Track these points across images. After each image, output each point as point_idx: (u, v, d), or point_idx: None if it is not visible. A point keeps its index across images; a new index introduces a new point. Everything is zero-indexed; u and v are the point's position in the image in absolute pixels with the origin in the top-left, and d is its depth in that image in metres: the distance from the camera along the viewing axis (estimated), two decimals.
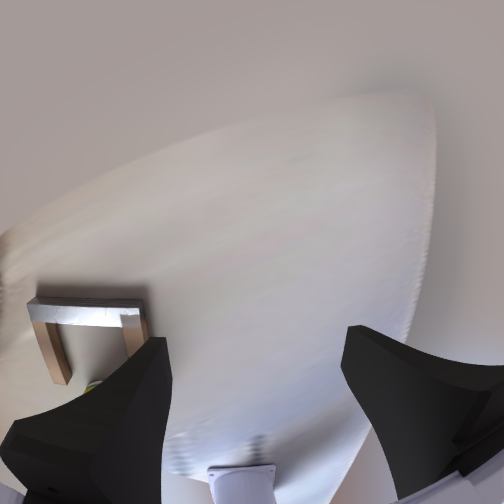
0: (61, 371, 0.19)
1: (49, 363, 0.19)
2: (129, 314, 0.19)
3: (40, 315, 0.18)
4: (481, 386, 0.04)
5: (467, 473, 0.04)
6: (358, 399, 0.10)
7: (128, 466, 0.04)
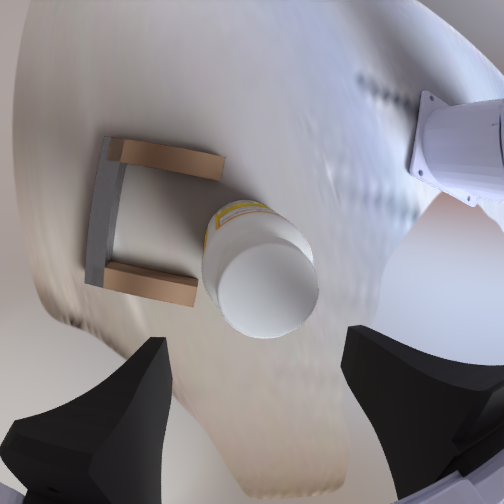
0: (173, 282, 0.19)
1: (160, 294, 0.19)
2: (108, 148, 0.16)
3: (97, 269, 0.18)
4: (481, 386, 0.04)
5: (467, 473, 0.04)
6: (358, 399, 0.10)
7: (128, 466, 0.04)
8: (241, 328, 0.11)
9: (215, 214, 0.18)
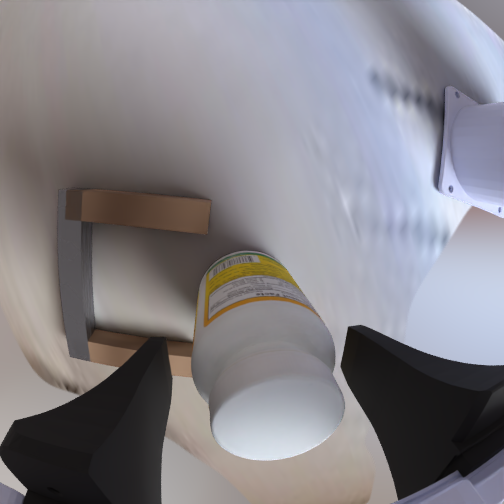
0: None
1: None
2: (65, 204, 0.12)
3: (80, 342, 0.14)
4: (480, 386, 0.04)
5: (467, 473, 0.04)
6: (358, 399, 0.10)
7: (128, 466, 0.04)
8: (247, 456, 0.08)
9: (206, 275, 0.14)
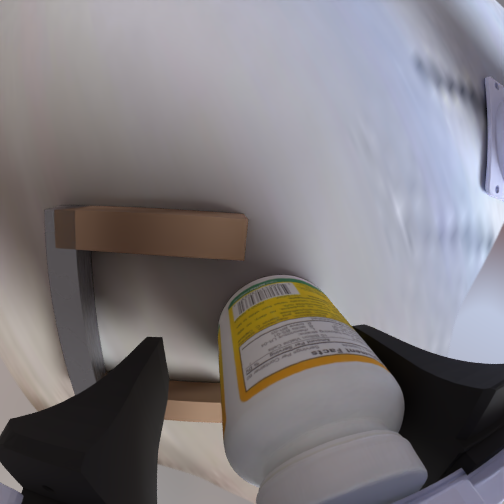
0: (196, 400, 0.12)
1: (182, 414, 0.12)
2: (54, 228, 0.09)
3: None
4: (484, 384, 0.04)
5: (471, 470, 0.04)
6: None
7: (122, 465, 0.04)
8: None
9: (228, 310, 0.11)
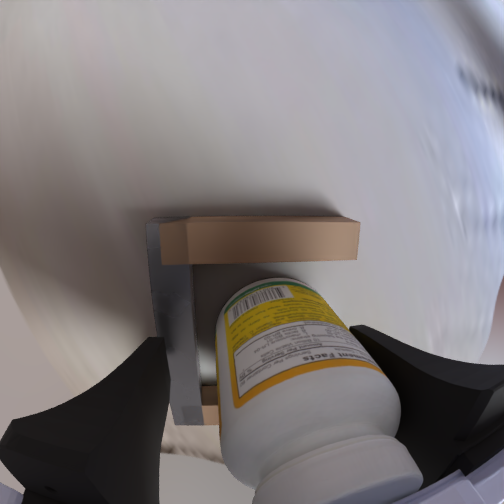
0: None
1: None
2: (159, 244, 0.10)
3: (190, 408, 0.12)
4: (482, 386, 0.04)
5: (469, 472, 0.04)
6: None
7: (125, 466, 0.04)
8: None
9: (224, 315, 0.11)
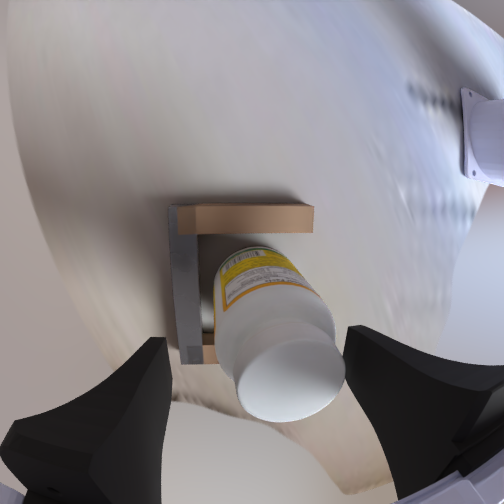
0: None
1: None
2: (177, 220, 0.15)
3: (193, 348, 0.17)
4: (480, 386, 0.04)
5: (467, 473, 0.04)
6: (358, 399, 0.10)
7: (128, 466, 0.04)
8: (268, 418, 0.10)
9: (219, 271, 0.17)
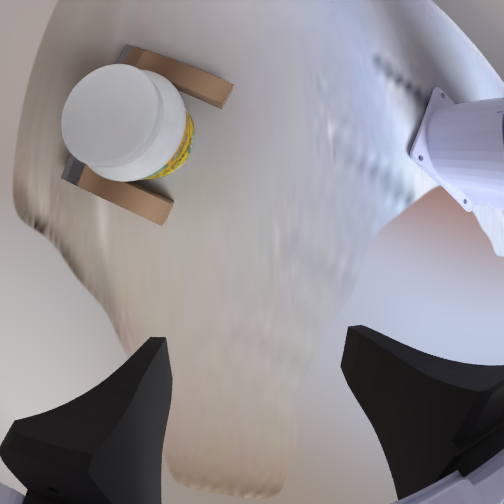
0: (148, 193, 0.17)
1: (131, 203, 0.17)
2: (127, 55, 0.14)
3: (77, 165, 0.16)
4: (481, 386, 0.04)
5: (467, 473, 0.04)
6: (358, 399, 0.10)
7: (128, 466, 0.04)
8: (70, 145, 0.09)
9: None
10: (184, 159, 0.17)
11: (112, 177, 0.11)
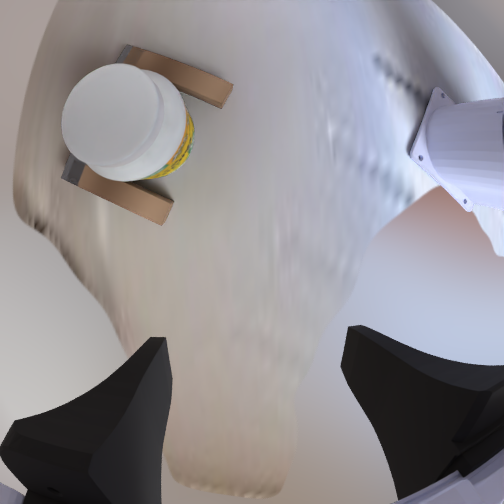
0: (148, 193, 0.17)
1: (131, 203, 0.17)
2: (127, 55, 0.14)
3: (77, 165, 0.16)
4: (481, 386, 0.04)
5: (467, 473, 0.04)
6: (358, 399, 0.10)
7: (128, 466, 0.04)
8: (70, 144, 0.09)
9: None
10: (184, 159, 0.17)
11: (112, 176, 0.11)
